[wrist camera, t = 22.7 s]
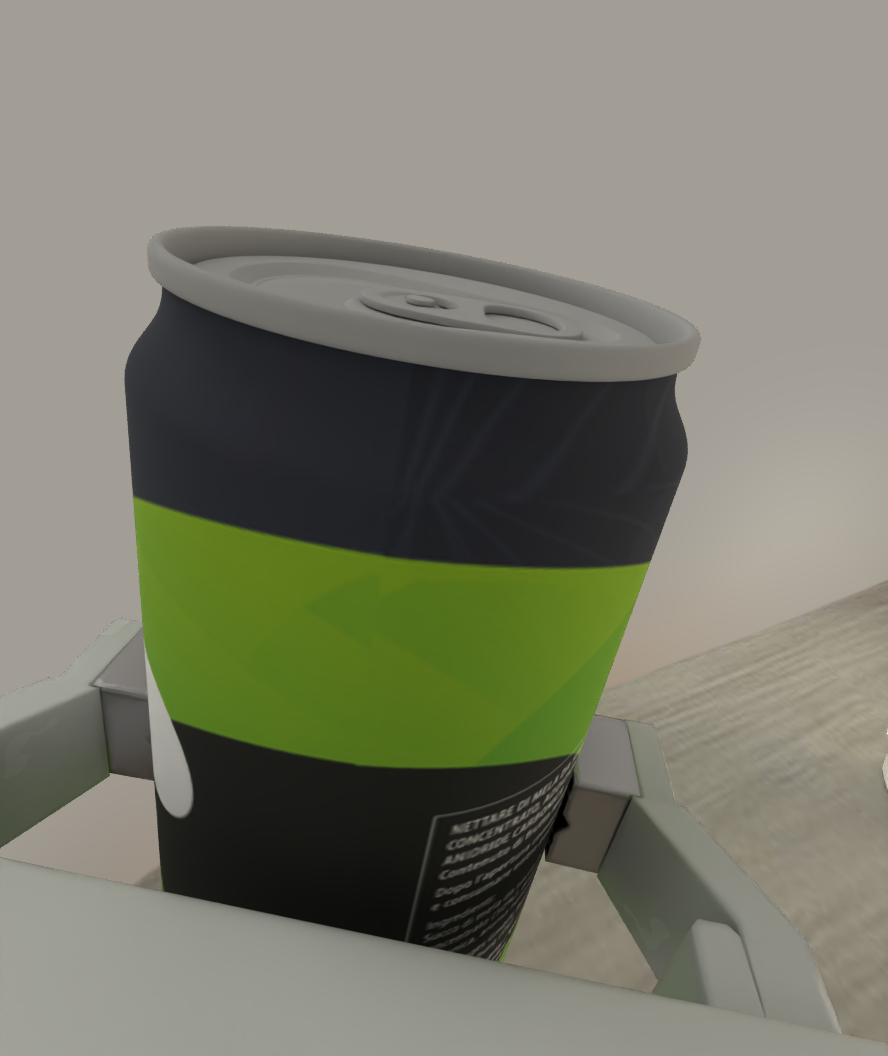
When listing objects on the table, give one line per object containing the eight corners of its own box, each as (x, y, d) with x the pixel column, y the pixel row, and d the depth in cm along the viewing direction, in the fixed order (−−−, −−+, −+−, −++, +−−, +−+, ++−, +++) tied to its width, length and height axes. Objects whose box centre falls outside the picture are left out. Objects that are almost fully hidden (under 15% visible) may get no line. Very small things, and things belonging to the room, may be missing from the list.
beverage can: (469, 881, 17) (644, 285, 10) (470, 1217, 11) (866, 410, 4) (232, 850, 17) (238, 212, 10) (116, 1178, 11) (-70, 247, 4)
